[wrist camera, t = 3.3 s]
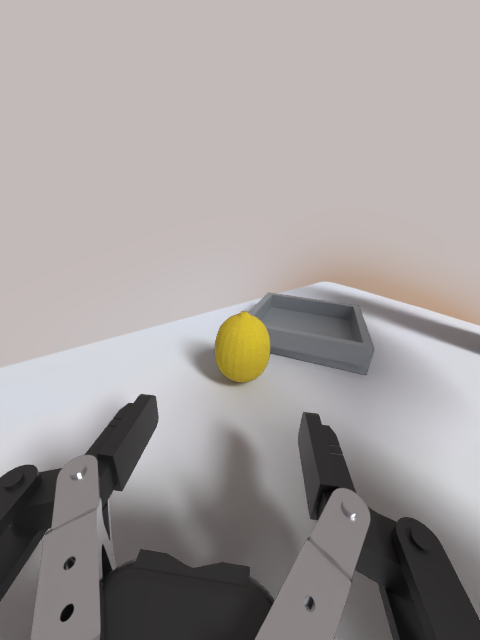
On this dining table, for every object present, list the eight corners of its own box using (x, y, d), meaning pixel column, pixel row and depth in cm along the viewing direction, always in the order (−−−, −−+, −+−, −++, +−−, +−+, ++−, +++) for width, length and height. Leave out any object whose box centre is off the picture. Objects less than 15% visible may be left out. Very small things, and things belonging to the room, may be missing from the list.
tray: (354, 324, 40) (359, 305, 39) (366, 375, 26) (374, 348, 25) (266, 309, 45) (268, 292, 44) (237, 345, 31) (239, 322, 30)
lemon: (223, 362, 27) (225, 299, 24) (269, 371, 26) (277, 306, 23) (206, 393, 22) (205, 318, 19) (261, 405, 21) (270, 328, 18)
